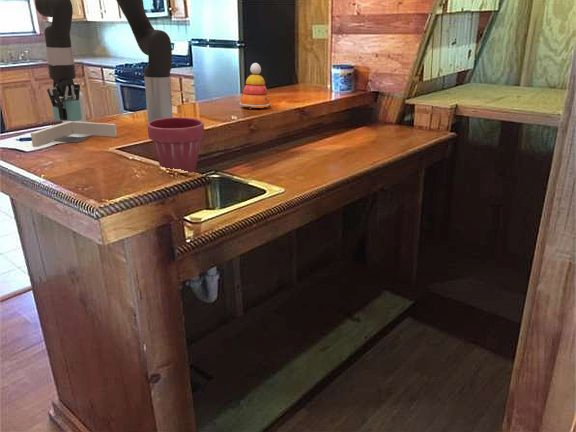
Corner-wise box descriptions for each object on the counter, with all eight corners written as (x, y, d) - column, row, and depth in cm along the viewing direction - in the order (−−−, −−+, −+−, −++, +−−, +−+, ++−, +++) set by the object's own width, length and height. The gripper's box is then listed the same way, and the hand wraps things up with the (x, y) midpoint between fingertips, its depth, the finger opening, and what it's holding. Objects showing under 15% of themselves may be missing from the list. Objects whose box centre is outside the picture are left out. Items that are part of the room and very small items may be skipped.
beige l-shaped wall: (71, 132, 171) (69, 120, 170) (117, 135, 169) (115, 124, 167) (32, 146, 153) (30, 133, 152) (83, 150, 150) (81, 137, 149)
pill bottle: (86, 123, 185) (81, 82, 180) (87, 128, 178) (81, 85, 173) (63, 124, 182) (57, 82, 177) (62, 129, 176) (56, 85, 170)
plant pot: (163, 181, 125) (160, 130, 120) (142, 167, 136) (138, 120, 131) (214, 172, 133) (213, 124, 128) (191, 160, 144) (189, 115, 139)
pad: (65, 136, 166) (65, 135, 166) (89, 138, 164) (88, 137, 164) (53, 140, 160) (53, 140, 160) (77, 142, 159) (77, 142, 159)
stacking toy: (265, 111, 219) (265, 65, 212) (234, 109, 223) (234, 63, 216) (274, 106, 232) (275, 62, 225) (245, 104, 236) (245, 61, 228)
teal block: (54, 119, 159) (51, 100, 156) (62, 117, 162) (59, 98, 160) (74, 121, 157) (72, 102, 155) (81, 119, 161) (79, 100, 159)
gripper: (64, 60, 161) (70, 114, 167) (34, 63, 148) (43, 122, 154) (85, 61, 159) (91, 115, 166) (57, 65, 146) (65, 123, 153)
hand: (68, 118), depth 160 cm, fingers closed on teal block, 4 cm apart
